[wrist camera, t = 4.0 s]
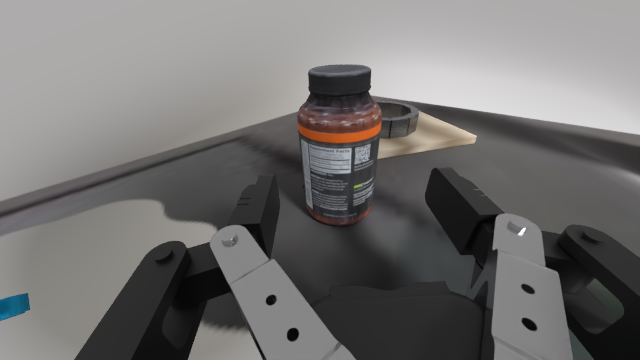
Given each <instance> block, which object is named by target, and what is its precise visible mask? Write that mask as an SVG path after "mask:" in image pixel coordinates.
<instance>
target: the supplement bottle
mask: <svg viewBox="0 0 640 360" xmlns="http://www.w3.org/2000/svg"><path fill="white" fill-rule="evenodd" d="M308 75H309V91H310V95H309V97H308V99H307V101H306V102H305V103H304V104H303V105H302V106H301V107H300V109H299V112H298V127H299V130H298V132H299V140H300V150H301V162H302V170H303V171H302V172H303V182H304V185H303V188H304V192H305V201H306V206H307V209H308V211H309V212H310V214H311V215H312V216H313V217H314V218H315V219H317V220H319V221H320V222H323V223H326V224H329V225H336V226H337V225H338V226H342V225H349V224H353V223H356V222H358V221H360V220H362V219H363V218H364V217H366V216H367V215H368V213H369V212H370V210H371V206H372V201H373V193H374V184H375V175H376V167H377V158H378V150H379V141H380V131H381V122H382V112H381V109H380V107H379V105H378V104H377V103H376V102H375V101H373V100H372V98H371V96H370V94H369V92H368V91H369V90H370V88H371V85H370V82H371V69H370V68H369V67H367V66H363V65H328V66H320V67H315V68H312V69H310V70H309V73H308Z"/></svg>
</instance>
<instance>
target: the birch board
mask: <svg viewBox="0 0 640 360" xmlns="http://www.w3.org/2000/svg"><path fill="white" fill-rule="evenodd" d="M476 138H477V136H476V135H473V134H471V133H469V132H466V131H464V130H462V129H460V128H457V127H455V126H453V125H450V124H448V123H446V122H443V121H441V120H439V119H436V118H434V117H432V116H430V115H427V114H425V113H423V112H420V111H419V117H418V122H417V126H416V131H415V132H413V133H411V134H410V135H408V136H406V137H399V138H392V139H389V138H388V139H383V138H380V141H379V150H378V158H377V159H380V158H386V157H392V156H398V155H404V154H411V153H417V152H423V151H429V150H435V149H441V148H447V147H453V146H459V145H465V144H471V143H475V140H476Z"/></svg>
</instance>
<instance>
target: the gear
mask: <svg viewBox="0 0 640 360" xmlns="http://www.w3.org/2000/svg"><path fill="white" fill-rule="evenodd" d="M27 310H30V307H29V298H28V293H26V294H21V295H16V296H12V297H8V298H5V299H1V300H0V321H1V320H4V319H7V318H10V317H13V316H16V315H19V314H22V313H24V312H25V311H27Z"/></svg>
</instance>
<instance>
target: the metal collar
mask: <svg viewBox="0 0 640 360" xmlns="http://www.w3.org/2000/svg"><path fill="white" fill-rule="evenodd" d="M375 102H376V103H377V104H378V105H379V107H380V109H381V112H382V122H381V131H380V138H383V139H388V138H389V139H392V138H399V137H406V136H408V135H410V134H411V133H413V132H415V131H416V126H417V122H418V117H419V111H418V108H416V107H414V106H411V105H409V104H406V103H400V102H394V101H375Z"/></svg>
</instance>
